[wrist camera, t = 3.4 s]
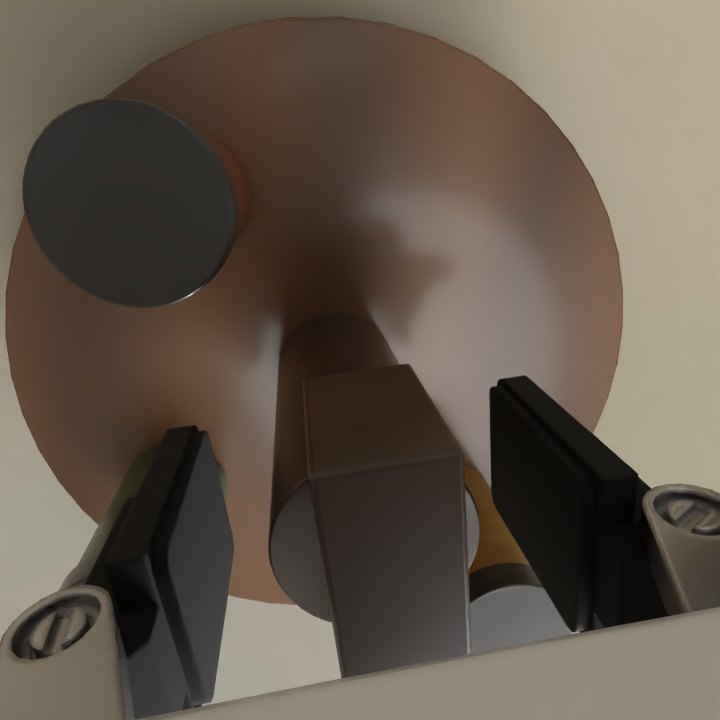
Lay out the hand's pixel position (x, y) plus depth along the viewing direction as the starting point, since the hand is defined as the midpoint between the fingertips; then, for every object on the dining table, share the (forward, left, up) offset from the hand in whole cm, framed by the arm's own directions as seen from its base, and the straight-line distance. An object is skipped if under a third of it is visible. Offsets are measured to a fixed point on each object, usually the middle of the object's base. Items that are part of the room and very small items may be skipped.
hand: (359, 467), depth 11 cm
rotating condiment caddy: (0, 0, -7) cm, 7 cm away
